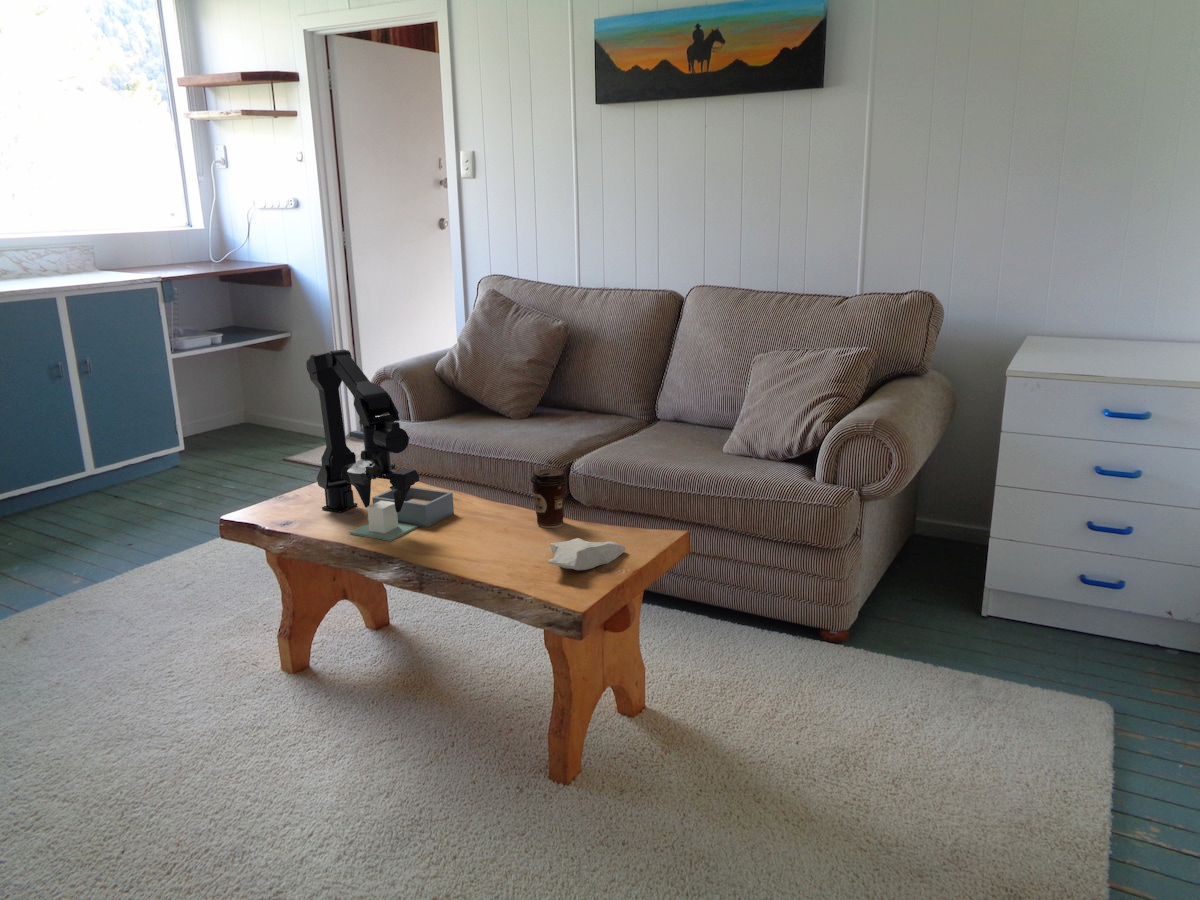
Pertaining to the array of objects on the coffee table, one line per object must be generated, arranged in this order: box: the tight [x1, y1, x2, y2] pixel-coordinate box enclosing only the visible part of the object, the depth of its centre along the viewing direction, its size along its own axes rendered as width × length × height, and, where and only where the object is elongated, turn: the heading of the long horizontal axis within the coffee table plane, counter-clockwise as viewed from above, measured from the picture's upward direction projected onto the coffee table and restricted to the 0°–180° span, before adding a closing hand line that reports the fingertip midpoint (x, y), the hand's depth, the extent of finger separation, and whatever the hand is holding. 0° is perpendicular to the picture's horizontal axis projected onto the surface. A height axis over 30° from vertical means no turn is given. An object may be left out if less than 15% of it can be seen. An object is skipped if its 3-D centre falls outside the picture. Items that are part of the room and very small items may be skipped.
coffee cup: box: [529, 468, 568, 529], centre depth 217 cm, size 9×8×13 cm
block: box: [366, 500, 398, 533], centre depth 216 cm, size 4×5×6 cm
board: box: [349, 522, 419, 542], centre depth 217 cm, size 12×10×1 cm
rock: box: [548, 537, 627, 571], centre depth 195 cm, size 21×5×15 cm
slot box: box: [372, 486, 455, 528], centre depth 226 cm, size 16×11×6 cm
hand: (382, 509), depth 215 cm, fingers open, 9 cm apart
